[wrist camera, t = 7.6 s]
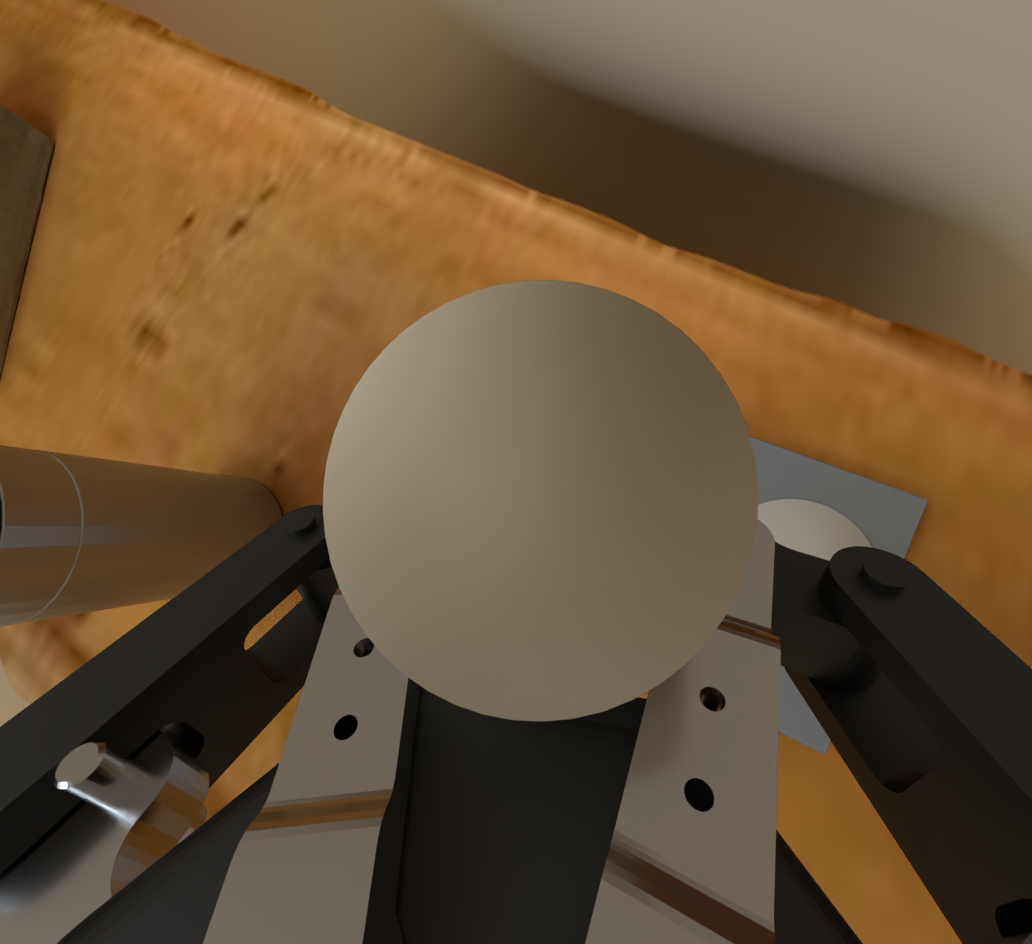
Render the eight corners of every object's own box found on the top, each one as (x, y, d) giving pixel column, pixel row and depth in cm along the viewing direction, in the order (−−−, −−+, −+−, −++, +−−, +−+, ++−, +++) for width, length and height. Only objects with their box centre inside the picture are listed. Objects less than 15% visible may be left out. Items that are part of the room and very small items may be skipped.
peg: (521, 543, 18) (259, 590, 4) (560, 454, 18) (424, 232, 5) (613, 586, 17) (644, 819, 3) (653, 492, 17) (835, 359, 4)
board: (495, 582, 32) (472, 593, 27) (581, 383, 32) (576, 354, 27) (813, 742, 27) (864, 796, 21) (910, 501, 27) (984, 495, 22)
